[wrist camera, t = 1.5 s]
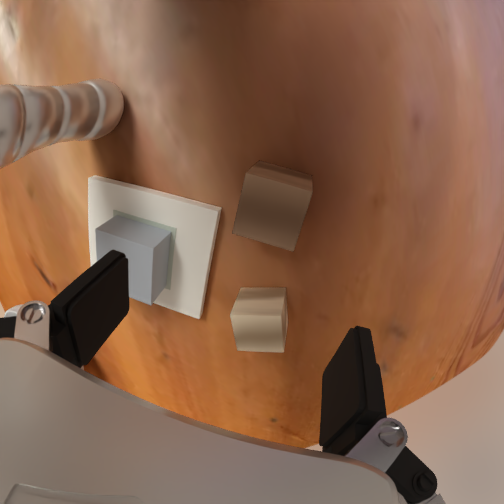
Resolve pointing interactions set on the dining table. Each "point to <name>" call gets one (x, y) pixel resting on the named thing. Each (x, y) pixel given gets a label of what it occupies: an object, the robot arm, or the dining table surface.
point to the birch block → (260, 319)
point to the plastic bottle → (55, 115)
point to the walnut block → (273, 205)
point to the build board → (168, 218)
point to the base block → (138, 254)
